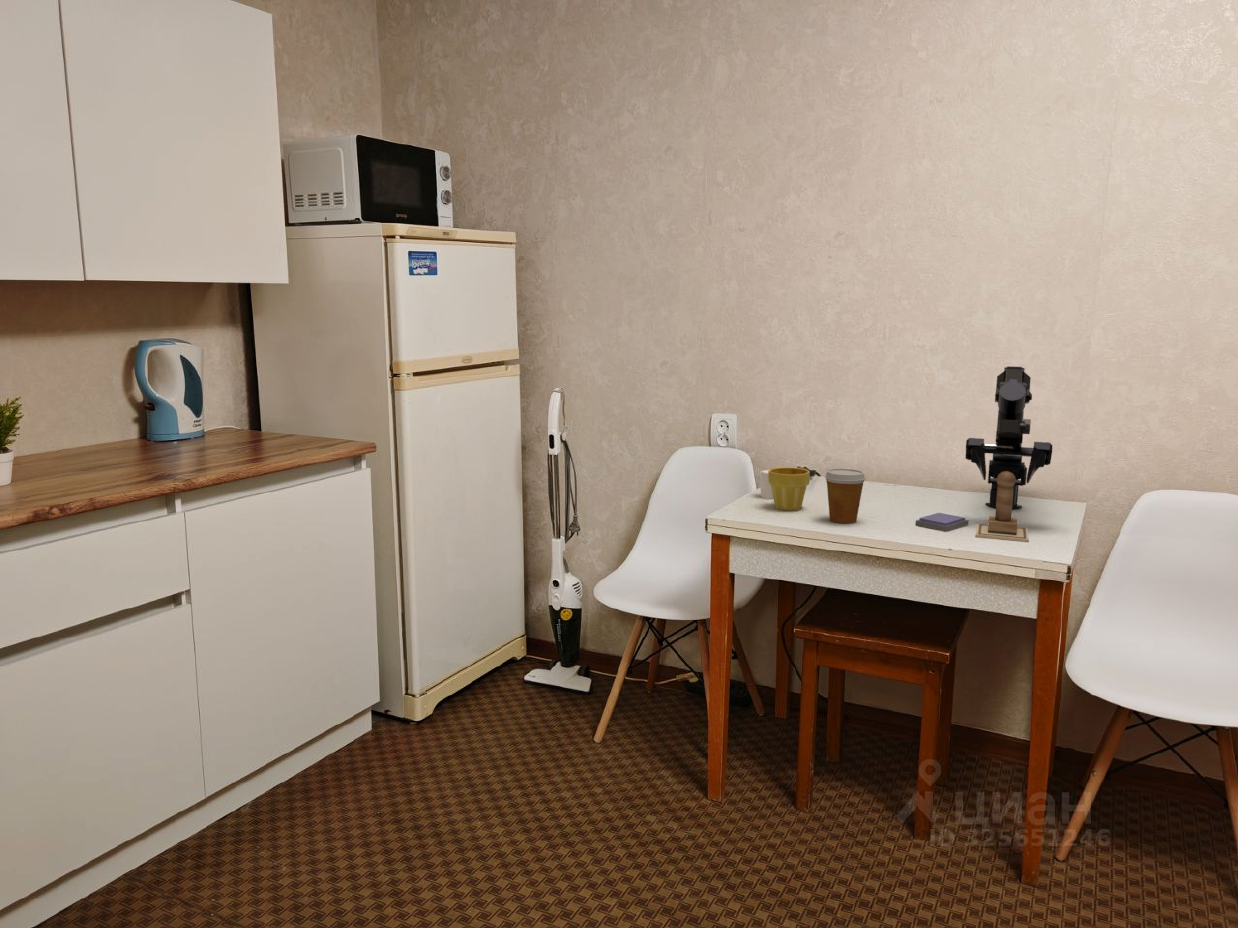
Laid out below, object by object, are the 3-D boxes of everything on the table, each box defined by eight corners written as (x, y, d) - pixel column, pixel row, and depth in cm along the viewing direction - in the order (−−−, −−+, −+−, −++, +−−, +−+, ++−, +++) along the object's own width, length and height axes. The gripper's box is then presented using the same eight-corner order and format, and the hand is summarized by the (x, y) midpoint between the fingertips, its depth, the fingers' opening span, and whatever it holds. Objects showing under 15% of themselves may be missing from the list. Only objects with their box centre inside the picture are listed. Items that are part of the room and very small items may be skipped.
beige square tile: (977, 526, 222) (977, 523, 222) (1027, 530, 218) (1027, 527, 218) (975, 536, 212) (975, 533, 212) (1028, 541, 208) (1028, 538, 207)
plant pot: (763, 510, 237) (764, 472, 235) (771, 502, 246) (772, 465, 245) (804, 513, 233) (806, 475, 232) (811, 505, 243) (812, 468, 241)
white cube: (768, 500, 249) (769, 474, 247) (753, 495, 255) (754, 470, 253) (789, 498, 252) (790, 472, 251) (773, 493, 258) (774, 468, 257)
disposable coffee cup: (870, 523, 223) (873, 474, 221) (835, 526, 221) (837, 476, 219) (850, 515, 232) (852, 467, 230) (815, 517, 230) (817, 469, 228)
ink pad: (937, 519, 229) (937, 511, 228) (968, 524, 223) (968, 517, 223) (915, 525, 222) (915, 517, 222) (946, 531, 216) (946, 524, 216)
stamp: (988, 526, 219) (992, 468, 216) (1016, 529, 216) (1021, 470, 214) (987, 532, 213) (992, 472, 211) (1016, 535, 211) (1021, 474, 209)
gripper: (969, 404, 222) (963, 457, 214) (1055, 408, 215) (1053, 463, 207) (968, 432, 231) (962, 484, 223) (1051, 437, 224) (1048, 491, 216)
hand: (1005, 480), depth 217 cm, fingers open, 9 cm apart
